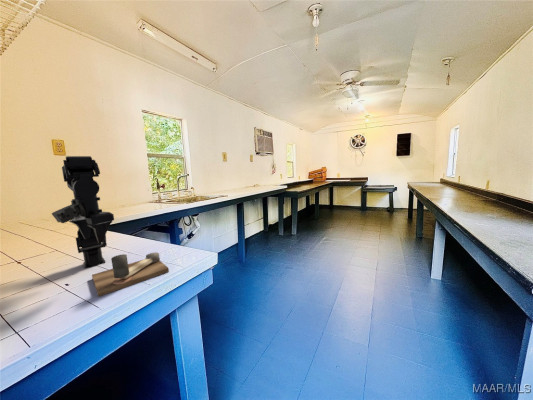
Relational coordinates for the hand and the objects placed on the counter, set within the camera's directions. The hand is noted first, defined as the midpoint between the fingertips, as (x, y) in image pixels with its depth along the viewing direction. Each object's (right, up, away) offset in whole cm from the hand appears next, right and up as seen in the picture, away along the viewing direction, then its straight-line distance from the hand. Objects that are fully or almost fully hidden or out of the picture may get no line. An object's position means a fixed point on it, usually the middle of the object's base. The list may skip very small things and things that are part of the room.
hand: (93, 240), depth 73 cm
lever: (+14, -10, +2) cm, 18 cm away
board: (+11, -12, +2) cm, 17 cm away
